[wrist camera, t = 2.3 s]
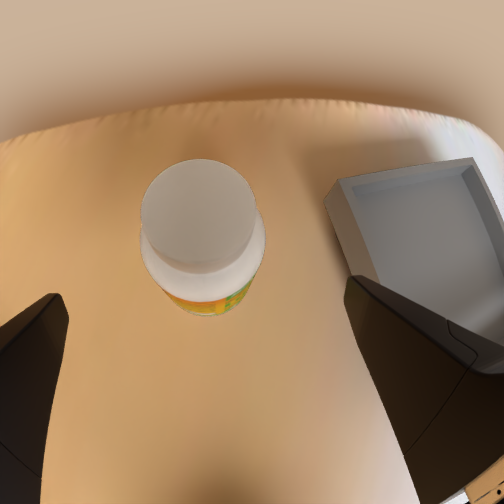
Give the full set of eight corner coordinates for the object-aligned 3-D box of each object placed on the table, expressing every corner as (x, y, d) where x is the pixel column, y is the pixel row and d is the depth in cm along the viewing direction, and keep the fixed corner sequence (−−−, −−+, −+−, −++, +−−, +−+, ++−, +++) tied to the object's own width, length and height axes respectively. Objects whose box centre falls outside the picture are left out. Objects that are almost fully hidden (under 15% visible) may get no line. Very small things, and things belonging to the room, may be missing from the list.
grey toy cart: (495, 335, 20) (563, 322, 13) (379, 410, 18) (453, 430, 10) (440, 184, 24) (493, 137, 16) (313, 214, 21) (357, 150, 14)
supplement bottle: (233, 329, 19) (248, 312, 10) (151, 299, 19) (94, 252, 10) (261, 249, 20) (296, 169, 11) (183, 222, 20) (161, 127, 11)
